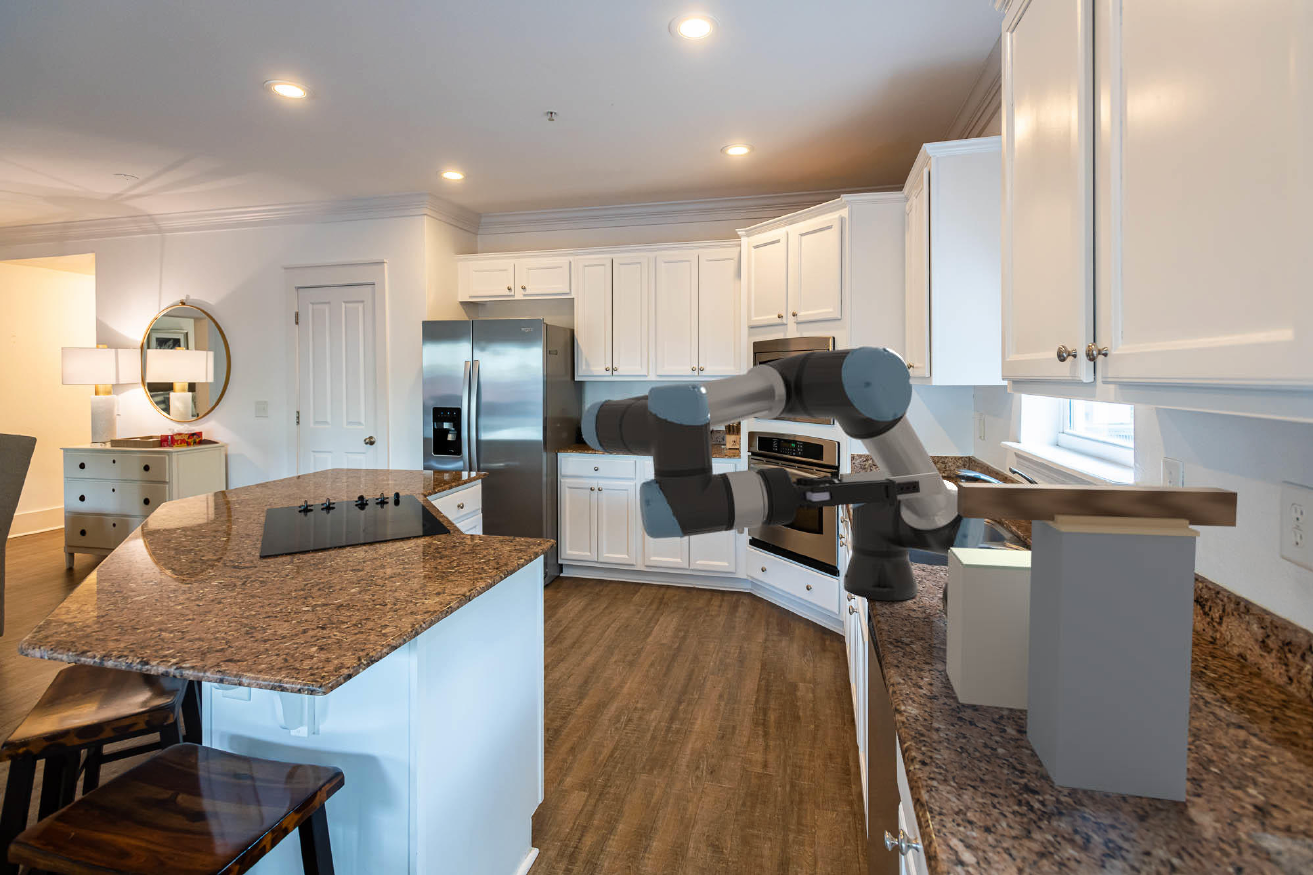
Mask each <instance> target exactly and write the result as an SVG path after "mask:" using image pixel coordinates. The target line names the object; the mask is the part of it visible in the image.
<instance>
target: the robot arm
mask: <svg viewBox="0 0 1313 875" xmlns="http://www.w3.org/2000/svg"><path fill="white" fill-rule="evenodd" d="M911 379H912V378H911V373H910V371H909V367H908V366H907V364H906V362H905V361H904V359H903V358H902V357H901V356H900V355H899V353H897V352H895V351H894V350H892V349H890V348H886V347H881V346H880V347H874V346H860V347H858V348H857V347H856V348H844V349H834V350H821V351H807V352H802V353H798V354H795V355H791V356H788V357H784V358H781V359H778V360H774V361H770V362H767V363H762V364H757V365H755V366H752V367H751V368H750V369H748V371H747V372H746V373H744V374H739V375H734V376H730V377H723V378H720V379H719V378H718V379H715V380H711V381H705V382H700V383H681V384H680V383H679V384H677V383H675V384H666V385H657V386H653V387H651V388H650V389H648V390H649V391H648V393H646V394H644V395H637V396H633V397H632V396H631V397H629V398H623V399H616V400H614V399H605V400H600V401H596V402H594V403H592V404H590V405H589V406H588V407H587V409H586V410H585V411H584V413H583V415H582V418H581V424H580V426H581V427H580V428H581V433H582V434H581V435H582V437H583V439H584V441H585V442H586V444H587V445H588V447H590V448H592V449H593V450H595V451H598V452H603V453H606V454H622V455H634V456H643V457H644V456H645V457H646V456H647V457H652V464H653V479H652V478H650V480H646V481H644V482H642V483H641V484H640V486H639V508H640V515H641V522H642V526H643V530H644V532H645V534H646V535H647V536H648V537H650V538H651V539H669V538H680V539H683V538H685V537H691V536H697V535H698V536H699V535H706V534H714V533H721V532H730V531H736V532H737V534H739V535H744V533H745V528H746V529H753V528H760V527H761V526H762V525H763V526H764V527H775V526H783V525H788V524H791V523H792V522H793V521H794V520H795V517H796V515H797V514H796V511H797V508H800V509H802V508H805V509H806V510H815V509H820V508H821V507H822V508H824V507H825V508H826V507H836V506H843V505H844V506H846V505H851V510H852V512H851V513H852V514H851V516H852V517H851V520H852V524H851V525H852V526H851V527H852V528H851V529H852V532H851V533H852V536H851V537H852V538H851V539H852V540H851V542H852V547H851V548H852V551H851V557H850V559H849V562H848V566H847V568H846V572H845V574H844V576H843V589H844V591H846V592H847V593H849V594H851V595H853V596H857V597H859V598H864V599H867V600H868V599H869V600H876V601H889V602H890V601H893V602H894V601H904V600H909V599H912V598H914V597H916V596H917V594H918V582H917V580H916V578H915V574H914V570H913V567H912V564H911V561H910V557H909V556H910V553H909V552H910V550H916V551H921V552H927V553H931V554H937V555H943V556H948V550H950V548H972V549H979V547H980V546H981V543H982V539H983V536H984V530H985V524H986V519H978V518H963V517H962V516H961V515H960V514H958V513H957V491H958V486H956V485H955V484H954V483H952V482H949V480H944V479H943V477H942V475H941V474H940V472H939V470H938V469H937V467H936V465H935V464H934V462H933V460H932V458H931V457H930V455H929V453H928V451H927V450H926V448H925V446H924V445H923V443H922V441H921V439H920V438H919V436H918V434H917V433H916V431H915V429H914V427H913V426H912V424H911V423H910V420H909V419H908V417H907V416H906V414H907V412H908V409H909V406H910V404H911V401H912V397H913V384H912V383H911V382H910V380H911ZM754 418H758V419H760V420H764V421H765V420H772V419H776V418H804V419H805V418H806V419H825V420H828V419H829V420H830V419H831V420H834V421H836V422H837V423H838V425H839V426H840V427H841V430H842V431H843V432H844V434H845V435H846V436H848V437H849V438H851V439H854V440H858V441H861V443H862V444H863V446H864V448H865V449H866V450H867V452H868V454H869V455H870V456H871V458H872V460H873V461H874V463H875V464H876V466H877V467H878V469H879V470H872V471H862V472H856V473H855V472H854V473H845V474H840V473H839V470H830V471H829V472H830V475H827V474H826V475H823V476H815V477H809V476H807V477H806V476H805V477H804V476H803V477H796V478H795V480H793V479H792V476H791V474H790V472H789V471H788V470H787V469H786V468H784V467H782V466H777V467H769V468H759V469H758V470H757V471H755V470H752V469H746V470H737V471H726V472H722V473H714V469H713V457H712V456H713V454H712V452H713V451H712V439H711V438H712V437H711V436H712V435H711V434H712V433H711V430H713V429H716V428H720V427H724V426H727V425H731V424H735V423H739V422H742V421H745V420H746V421H747V420H749V419H754ZM839 474H840V475H839Z"/></svg>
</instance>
